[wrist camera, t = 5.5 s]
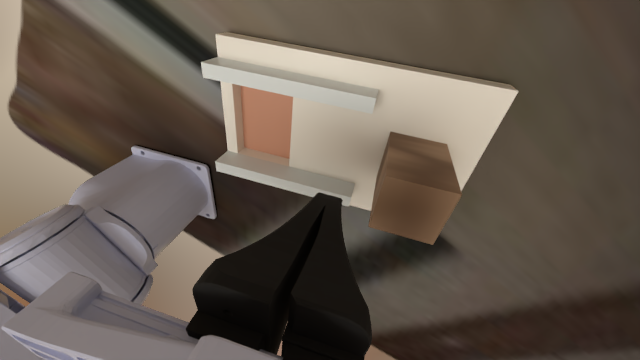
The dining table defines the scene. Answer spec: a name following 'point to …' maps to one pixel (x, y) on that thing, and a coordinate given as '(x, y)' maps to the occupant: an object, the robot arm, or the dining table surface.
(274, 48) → the channel
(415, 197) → the walnut block
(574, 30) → the dining table surface
